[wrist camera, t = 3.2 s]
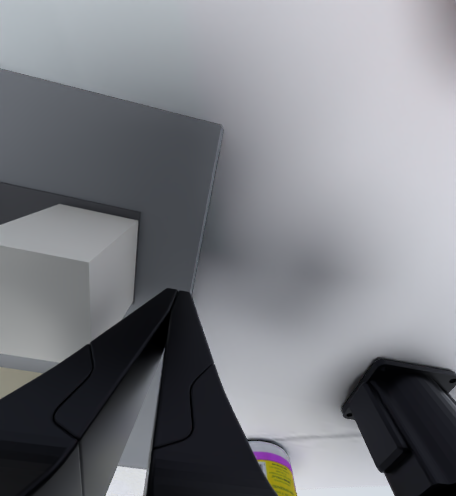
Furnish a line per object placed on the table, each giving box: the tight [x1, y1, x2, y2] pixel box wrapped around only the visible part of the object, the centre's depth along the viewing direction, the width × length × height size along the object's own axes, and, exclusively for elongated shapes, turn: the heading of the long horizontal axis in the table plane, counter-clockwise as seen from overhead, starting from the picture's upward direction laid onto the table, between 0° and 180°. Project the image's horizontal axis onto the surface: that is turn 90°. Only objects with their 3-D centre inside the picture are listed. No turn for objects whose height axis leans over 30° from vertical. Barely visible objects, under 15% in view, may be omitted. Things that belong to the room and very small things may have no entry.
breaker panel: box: [0, 69, 224, 469], centre depth 13 cm, size 18×24×4 cm
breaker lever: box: [0, 204, 138, 363], centre depth 8 cm, size 3×4×4 cm
